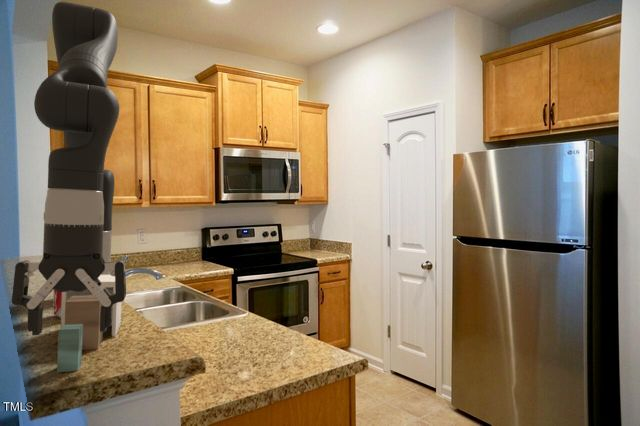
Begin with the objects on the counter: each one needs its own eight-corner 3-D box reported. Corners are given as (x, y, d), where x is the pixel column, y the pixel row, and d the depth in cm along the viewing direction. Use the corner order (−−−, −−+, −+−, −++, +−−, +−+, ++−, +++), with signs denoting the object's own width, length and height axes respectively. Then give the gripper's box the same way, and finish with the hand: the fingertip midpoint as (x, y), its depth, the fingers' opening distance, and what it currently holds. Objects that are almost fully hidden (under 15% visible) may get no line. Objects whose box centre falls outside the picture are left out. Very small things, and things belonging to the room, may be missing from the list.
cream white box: (71, 326, 84) (73, 275, 84) (120, 324, 87) (122, 274, 87) (60, 339, 76) (62, 282, 76) (115, 336, 79) (117, 281, 79)
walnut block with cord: (70, 342, 74) (72, 295, 74) (102, 340, 76) (104, 295, 76) (47, 373, 60) (49, 315, 60) (87, 369, 62) (89, 314, 62)
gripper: (130, 221, 69) (126, 323, 69) (25, 218, 64) (22, 327, 64) (125, 223, 62) (121, 337, 62) (7, 220, 57) (3, 343, 57)
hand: (70, 332), depth 63 cm, fingers open, 8 cm apart
